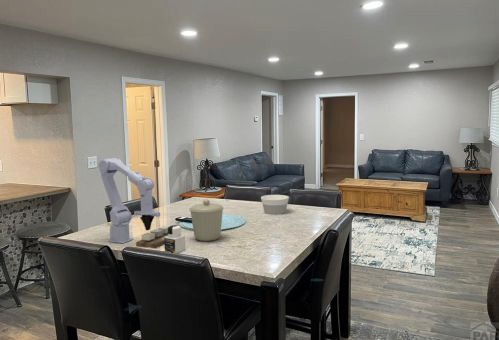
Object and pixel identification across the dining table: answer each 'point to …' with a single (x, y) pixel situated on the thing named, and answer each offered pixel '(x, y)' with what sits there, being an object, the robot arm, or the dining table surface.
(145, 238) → the cream key
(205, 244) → the dining table surface
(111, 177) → the robot arm
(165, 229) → the sage key
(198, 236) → the canister
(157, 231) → the grey key
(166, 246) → the medicine bottle
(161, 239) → the keypad board
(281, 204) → the bowl
